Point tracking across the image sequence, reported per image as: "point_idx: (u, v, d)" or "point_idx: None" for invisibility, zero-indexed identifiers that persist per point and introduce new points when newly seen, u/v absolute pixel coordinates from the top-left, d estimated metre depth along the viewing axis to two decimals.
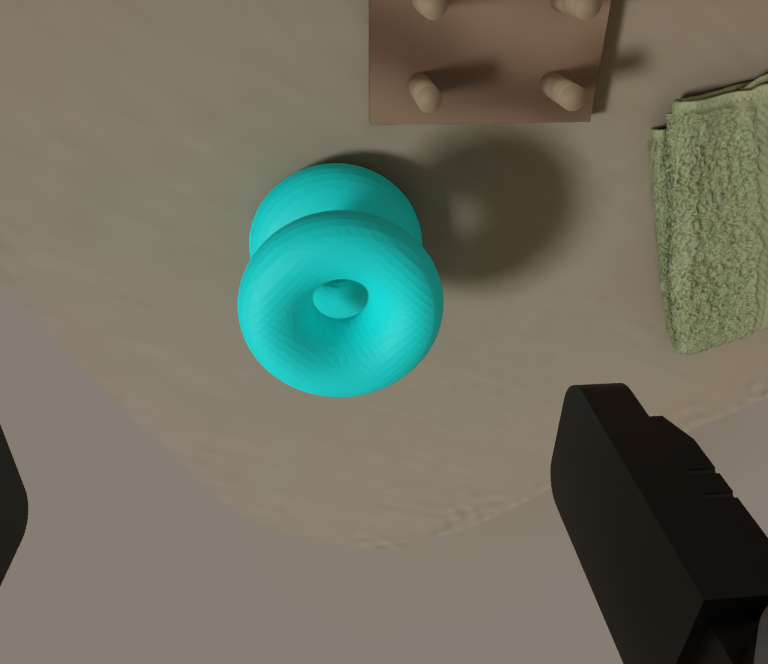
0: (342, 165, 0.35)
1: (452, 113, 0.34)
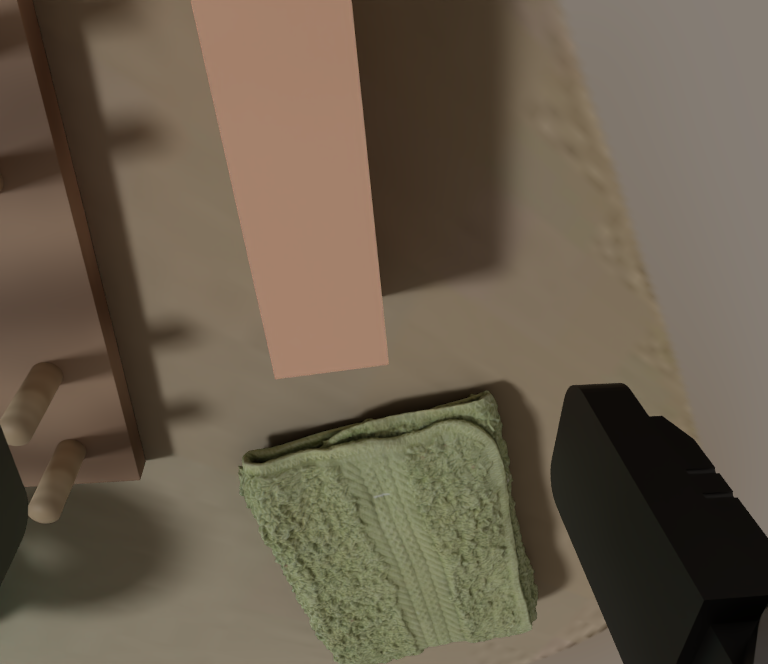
0: None
1: None
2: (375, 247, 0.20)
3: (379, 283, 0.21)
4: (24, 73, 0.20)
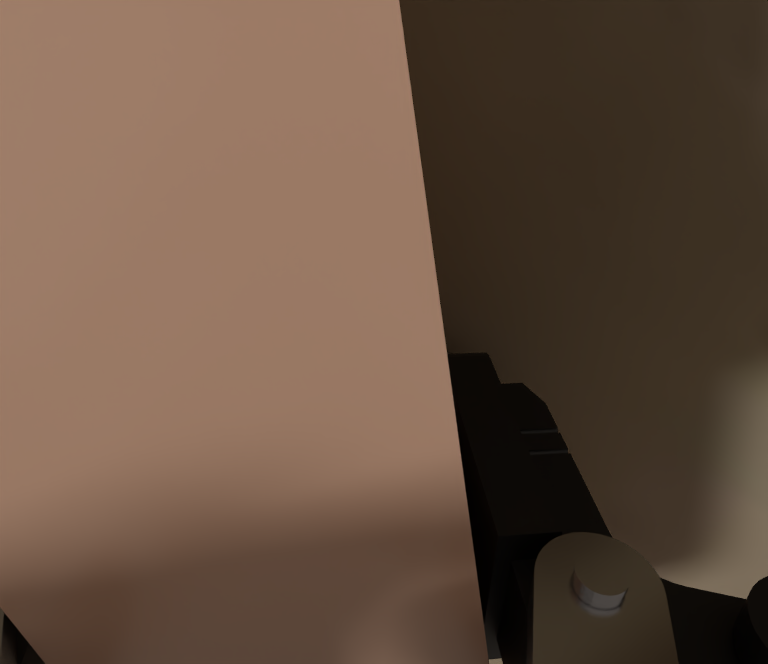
0: None
1: None
2: None
3: None
4: None
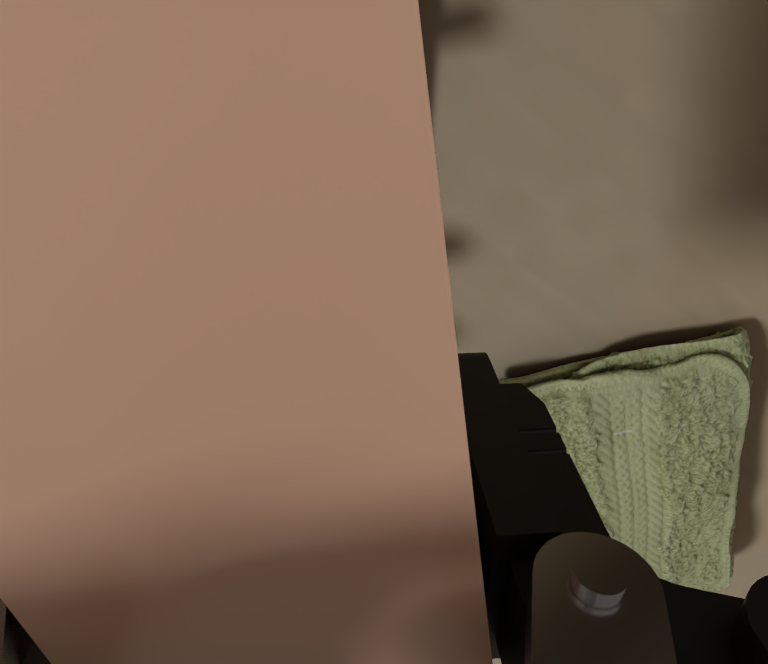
0: None
1: None
2: None
3: None
4: None
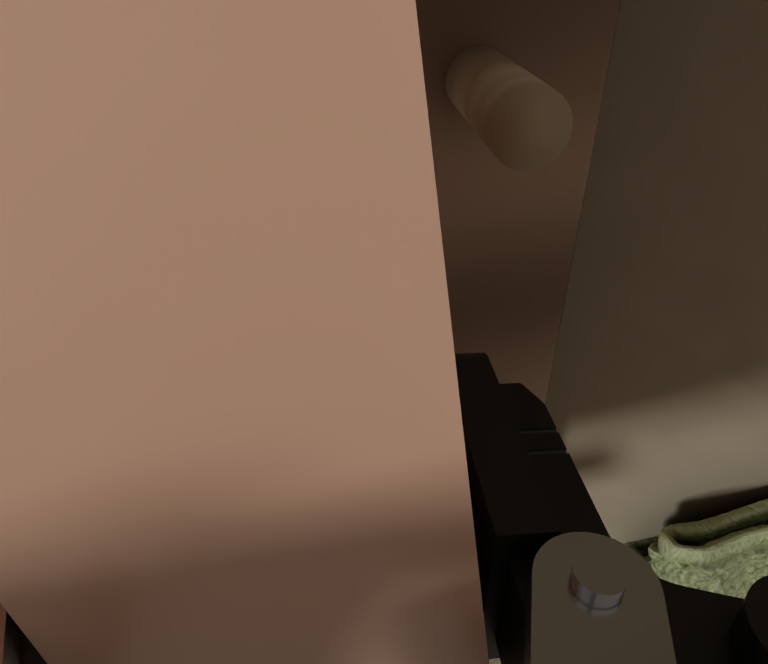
0: None
1: None
2: None
3: None
4: None
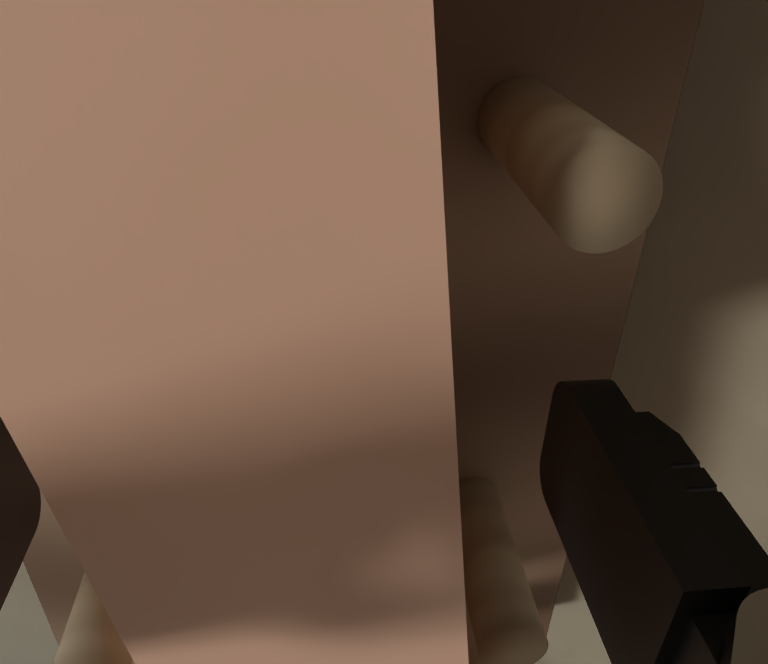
0: None
1: None
2: None
3: None
4: None
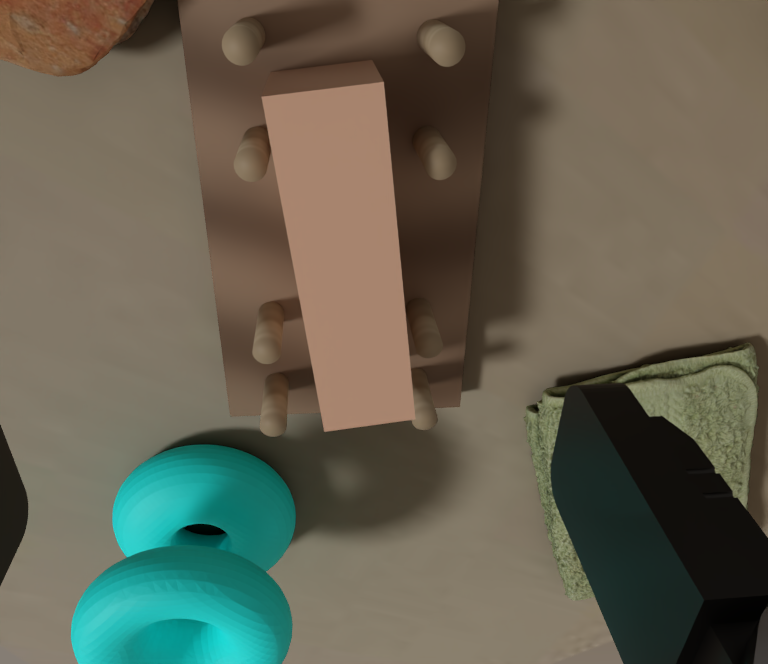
0: (203, 452, 0.34)
1: (314, 404, 0.34)
2: (405, 330, 0.26)
3: (408, 357, 0.27)
4: (485, 56, 0.26)
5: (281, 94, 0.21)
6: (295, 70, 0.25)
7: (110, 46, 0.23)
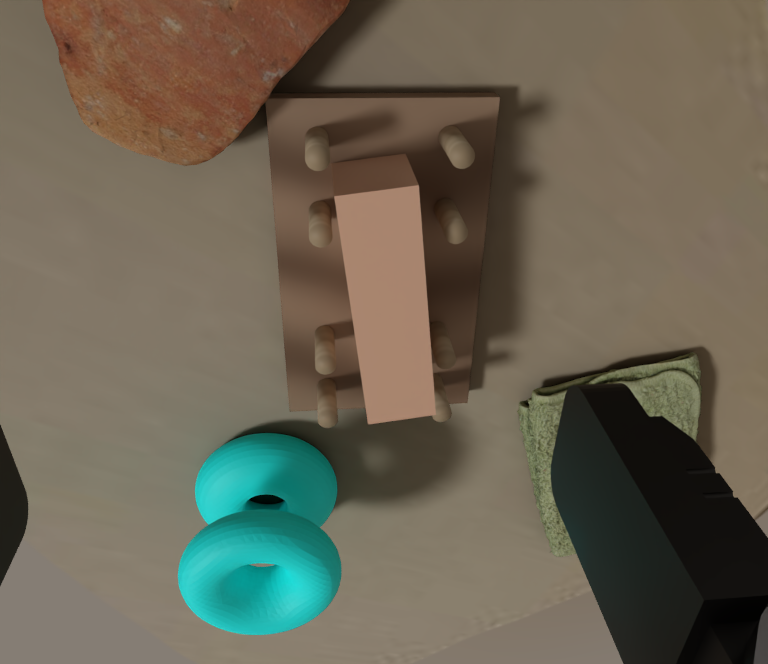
0: (268, 439, 0.44)
1: (355, 402, 0.43)
2: (430, 351, 0.35)
3: (431, 370, 0.36)
4: (488, 149, 0.35)
5: (347, 194, 0.30)
6: (350, 162, 0.34)
7: (225, 146, 0.32)
